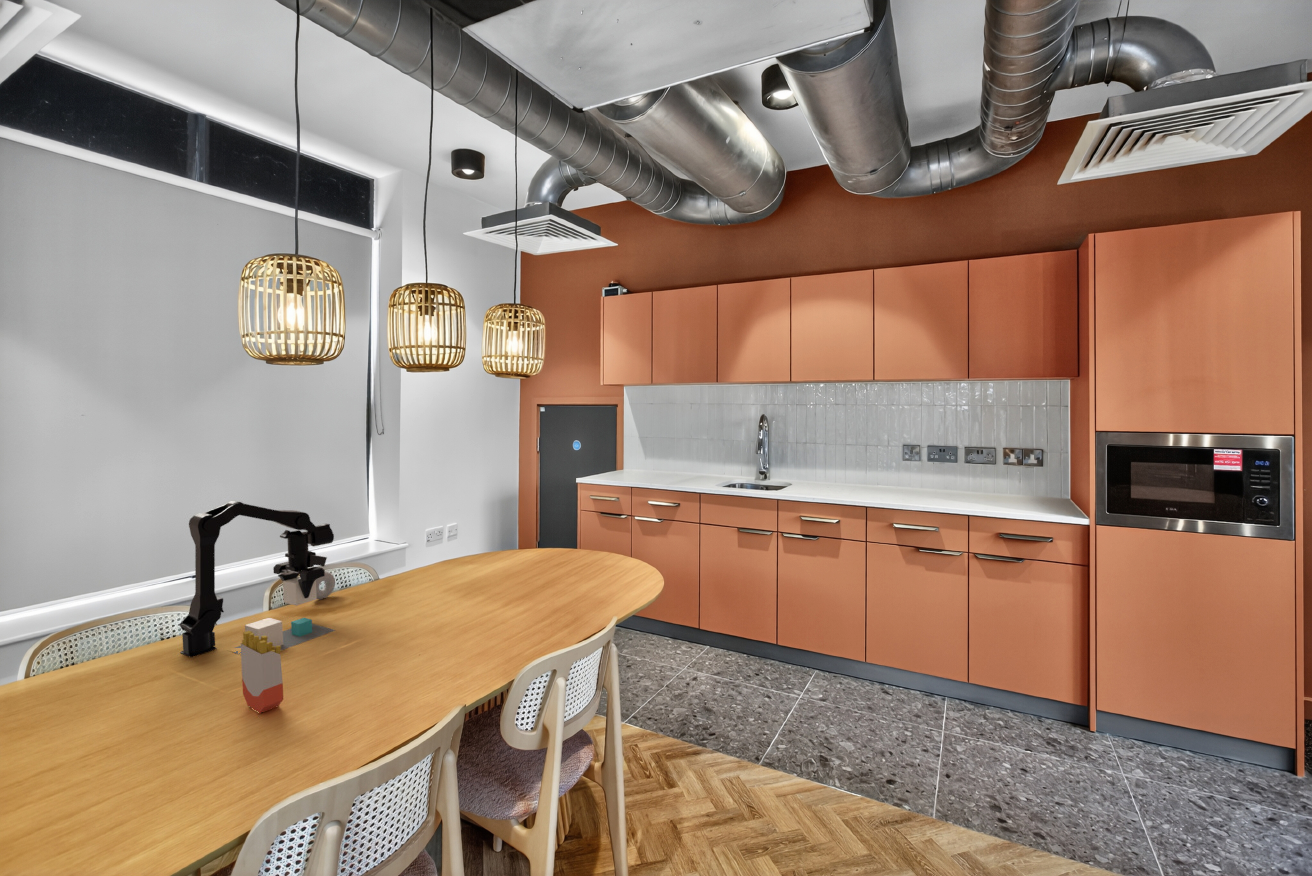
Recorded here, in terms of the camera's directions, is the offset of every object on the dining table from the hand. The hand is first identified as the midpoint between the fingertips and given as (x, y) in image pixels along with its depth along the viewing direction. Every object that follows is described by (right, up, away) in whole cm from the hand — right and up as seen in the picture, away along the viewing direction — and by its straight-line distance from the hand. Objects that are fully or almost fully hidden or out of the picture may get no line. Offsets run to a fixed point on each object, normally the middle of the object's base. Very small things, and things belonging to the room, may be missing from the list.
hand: (299, 596), depth 193 cm
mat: (+4, -9, -15) cm, 18 cm away
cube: (+7, -9, -10) cm, 15 cm away
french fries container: (+24, -12, -53) cm, 60 cm away
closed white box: (0, -2, 0) cm, 2 cm away
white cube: (+2, -9, -20) cm, 22 cm away
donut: (-5, -7, +23) cm, 24 cm away
